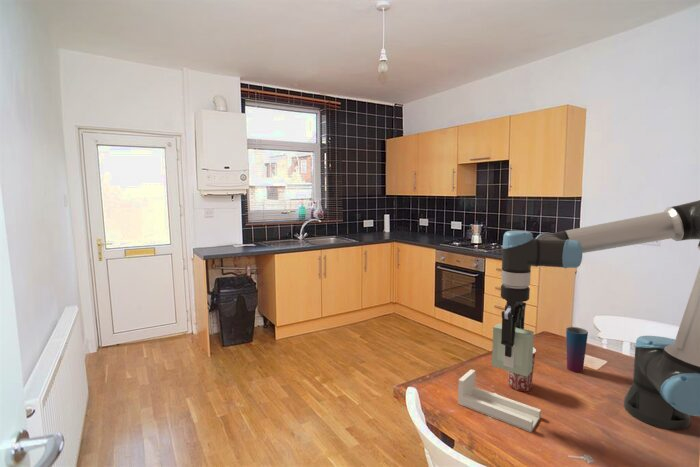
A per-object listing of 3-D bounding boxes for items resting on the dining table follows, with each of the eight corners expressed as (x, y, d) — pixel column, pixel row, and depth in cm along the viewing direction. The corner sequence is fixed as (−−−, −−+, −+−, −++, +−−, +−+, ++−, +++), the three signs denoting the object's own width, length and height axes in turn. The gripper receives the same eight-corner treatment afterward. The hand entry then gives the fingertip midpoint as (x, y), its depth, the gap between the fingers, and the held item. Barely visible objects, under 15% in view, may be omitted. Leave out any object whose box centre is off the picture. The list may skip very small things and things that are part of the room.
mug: (540, 390, 125) (542, 351, 123) (518, 395, 122) (519, 355, 121) (514, 372, 137) (515, 337, 135) (493, 376, 134) (494, 340, 133)
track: (540, 417, 110) (541, 391, 109) (531, 432, 103) (532, 405, 103) (470, 392, 124) (471, 369, 123) (458, 403, 118) (458, 379, 117)
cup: (585, 367, 140) (588, 329, 138) (585, 375, 134) (588, 335, 132) (564, 363, 143) (566, 325, 142) (563, 370, 138) (565, 331, 136)
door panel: (531, 371, 108) (533, 331, 107) (527, 376, 105) (529, 335, 103) (497, 360, 115) (498, 323, 113) (491, 366, 112) (493, 327, 110)
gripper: (512, 277, 116) (509, 350, 119) (490, 289, 103) (487, 370, 106) (538, 281, 111) (534, 356, 114) (518, 294, 98) (514, 378, 101)
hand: (511, 363), depth 110 cm, fingers closed on door panel, 4 cm apart
